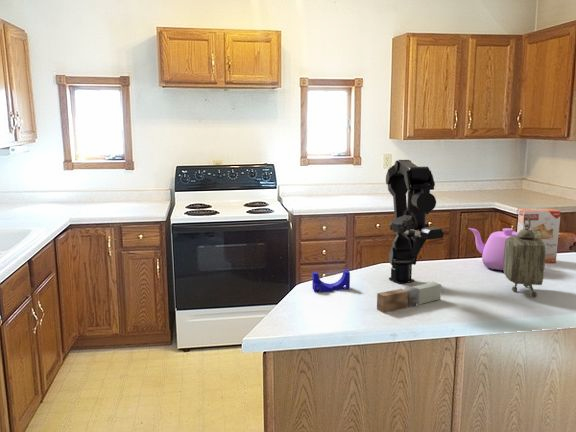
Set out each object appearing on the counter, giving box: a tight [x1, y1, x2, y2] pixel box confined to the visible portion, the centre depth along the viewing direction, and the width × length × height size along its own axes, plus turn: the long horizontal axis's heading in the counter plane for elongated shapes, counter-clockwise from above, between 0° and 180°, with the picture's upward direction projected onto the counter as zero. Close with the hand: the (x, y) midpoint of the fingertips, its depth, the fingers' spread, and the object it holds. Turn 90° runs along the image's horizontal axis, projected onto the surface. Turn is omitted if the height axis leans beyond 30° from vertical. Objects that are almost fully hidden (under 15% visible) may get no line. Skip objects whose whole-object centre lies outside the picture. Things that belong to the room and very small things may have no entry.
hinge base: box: [376, 288, 418, 313], centre depth 153 cm, size 13×4×5 cm, turn 117°
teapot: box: [468, 227, 518, 271], centre depth 198 cm, size 23×21×15 cm
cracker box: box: [516, 208, 562, 264], centre depth 203 cm, size 14×6×21 cm, turn 87°
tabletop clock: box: [503, 215, 546, 298], centre depth 166 cm, size 14×9×25 cm, turn 168°
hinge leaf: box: [403, 281, 442, 305], centre depth 158 cm, size 13×4×5 cm, turn 120°
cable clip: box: [311, 269, 351, 293], centre depth 171 cm, size 12×4×6 cm, turn 97°
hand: (414, 256), depth 163 cm, fingers closed
